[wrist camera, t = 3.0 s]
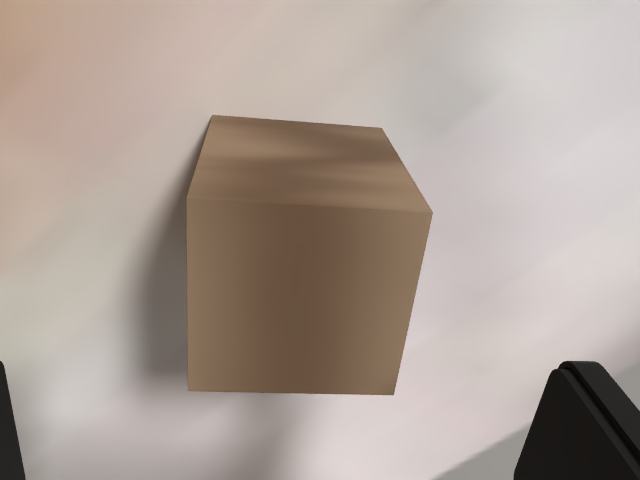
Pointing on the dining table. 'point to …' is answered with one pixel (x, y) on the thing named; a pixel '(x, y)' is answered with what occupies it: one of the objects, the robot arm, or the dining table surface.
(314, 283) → the walnut block
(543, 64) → the dining table surface
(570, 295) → the dining table surface
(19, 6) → the dining table surface
